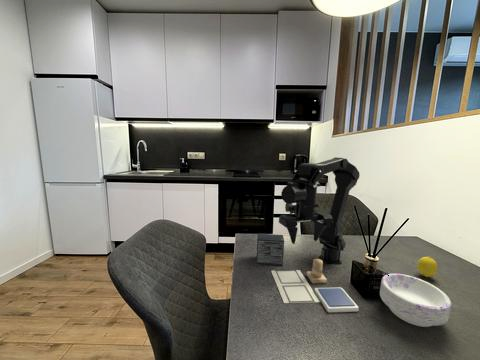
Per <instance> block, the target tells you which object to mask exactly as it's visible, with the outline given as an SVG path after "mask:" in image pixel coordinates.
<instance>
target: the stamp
mask: <svg viewBox="0 0 480 360" xmlns="http://www.w3.org/2000/svg"><path fill="white" fill-rule="evenodd" d="M323 261H324V260H323V259H320V258H313V259H312V269H311V271H306V277H307V278H308V279H309V281H310V282H311V284H312V285H315V284H316V285H319V284H321V285H323V284H327V281H328V279H327V278H326V277H325V275H324V274H323V264H324V262H323Z"/></svg>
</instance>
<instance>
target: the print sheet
mask: <svg viewBox="0 0 480 360" xmlns="http://www.w3.org/2000/svg"><path fill="white" fill-rule="evenodd" d="M270 272H271V274H272V277H273V280H274V282H275V284H276V287H277V289H278V292H279V294H280V296H281V299H282V301H283V304H285V305H286V304H310V303H311V304H312V303H313V304H314V303H321V301H320V299H319V298H318V296H317V294H316V293H315V291H314V290H313V288H312V287H311V286H310V284H309V282H308V281H307V279H306V277H305V276H304V274H303V273H302V271H301V270H300V269H288V270H287V269H285V270H284V269H283V270H282V269H280V270H279V269H278V270H270Z"/></svg>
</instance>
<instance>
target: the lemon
mask: <svg viewBox="0 0 480 360" xmlns="http://www.w3.org/2000/svg"><path fill="white" fill-rule="evenodd" d="M417 270H418V272H419V273H420V275H422V276H423V277H424V276H425V277H424V278H428V277H430V278H432V277H434V276H435V275H436V274H437V272H438V264H437V262H436V261H435V259H434V258H431V257H430V256H422V257H421V258H420V259H419V260H418V261H417Z"/></svg>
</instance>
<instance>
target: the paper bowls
mask: <svg viewBox="0 0 480 360" xmlns="http://www.w3.org/2000/svg"><path fill="white" fill-rule="evenodd" d="M388 275H389V276H388ZM388 275H387V274H385V275H384V276H382V278H381V280H380V281H381V283H380V287H379V288H380V289H379V296H380V298H381V300H382V302H383V303H384V304H385V305H386V306H387V307H388V308H389V310H390V311H391V312H392V313H393V314H394V315H395V316H396V317H398V318H399V319H401V320H403V321H404V322H406V323H408V324H410V325H414V326H418V327H422V328H429V327H433V326H434V327H436V326H443V325H445V324H447V323H448V321H449V317H450V313H451V308H452V301H451V300H450V298H449V296H448V295H447V294H446V293H445V292H444V291H443V290H441V289H440V288H438V287H437V286H436V285H433V284H432V283H430V282H428V281H426V280H423V279H420V278H418V277H414V276H413V275H408V274H403V273H388Z"/></svg>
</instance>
